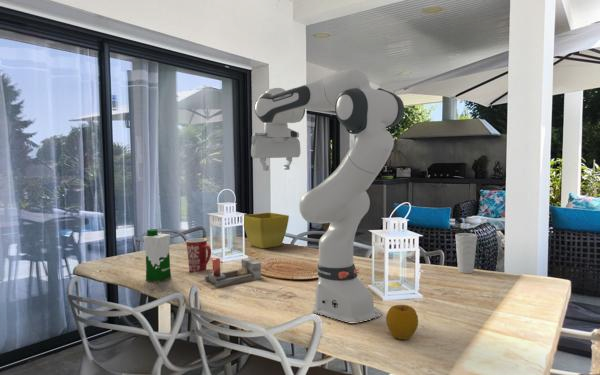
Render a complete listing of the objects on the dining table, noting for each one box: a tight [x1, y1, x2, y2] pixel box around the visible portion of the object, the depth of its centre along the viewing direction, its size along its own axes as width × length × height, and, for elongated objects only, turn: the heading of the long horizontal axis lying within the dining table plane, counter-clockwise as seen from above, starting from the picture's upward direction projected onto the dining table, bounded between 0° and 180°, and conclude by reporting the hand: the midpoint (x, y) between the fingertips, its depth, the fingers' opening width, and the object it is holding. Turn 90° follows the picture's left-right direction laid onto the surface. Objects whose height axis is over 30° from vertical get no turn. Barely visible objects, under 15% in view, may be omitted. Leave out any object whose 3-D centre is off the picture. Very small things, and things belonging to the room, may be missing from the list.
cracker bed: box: [197, 257, 265, 291], centre depth 169 cm, size 14×22×8 cm, turn 126°
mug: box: [185, 237, 212, 273], centre depth 187 cm, size 13×9×14 cm
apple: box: [385, 304, 419, 340], centre depth 117 cm, size 8×8×9 cm
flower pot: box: [243, 212, 290, 249], centre depth 238 cm, size 19×19×17 cm
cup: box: [455, 232, 478, 274], centre depth 180 cm, size 8×8×16 cm
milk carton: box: [142, 228, 172, 282], centre depth 177 cm, size 9×9×20 cm
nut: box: [237, 266, 248, 276], centre depth 172 cm, size 4×4×4 cm
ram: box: [207, 257, 226, 285], centre depth 165 cm, size 7×4×9 cm, turn 36°
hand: (276, 170), depth 164 cm, fingers open, 8 cm apart
